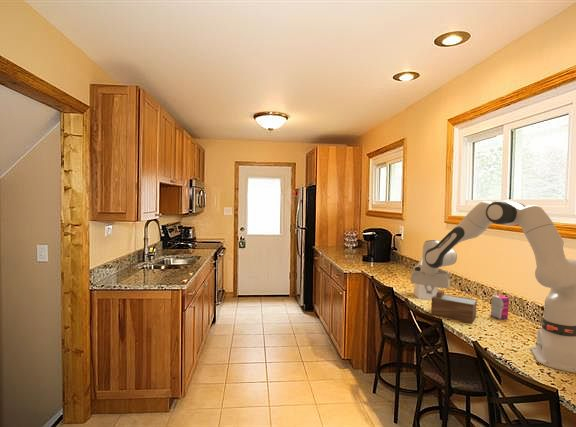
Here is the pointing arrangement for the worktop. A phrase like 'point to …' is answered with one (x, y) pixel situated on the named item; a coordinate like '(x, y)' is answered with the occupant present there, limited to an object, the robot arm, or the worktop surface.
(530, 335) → the worktop surface
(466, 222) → the robot arm
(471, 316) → the wooden box
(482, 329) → the worktop surface
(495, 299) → the supplement box
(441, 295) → the lid
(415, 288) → the milk
